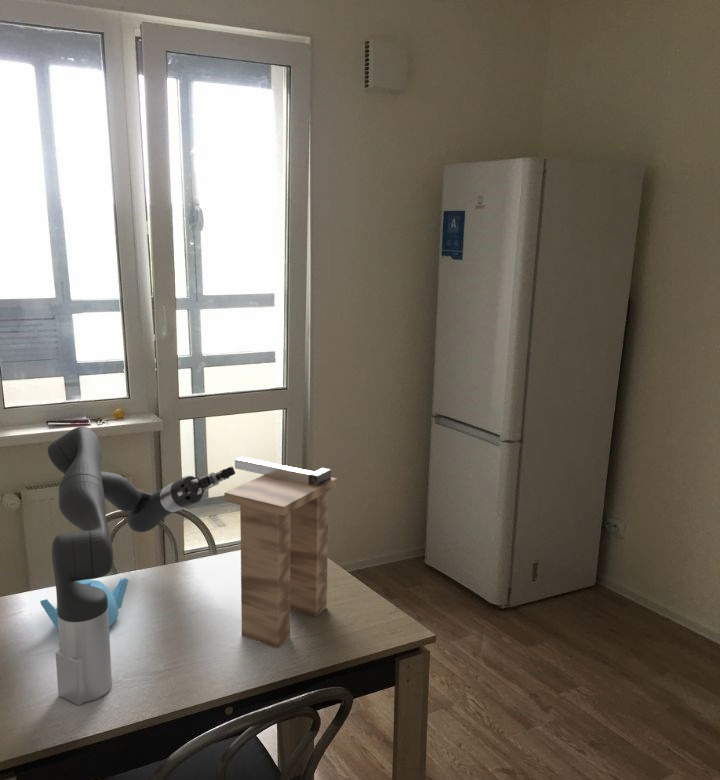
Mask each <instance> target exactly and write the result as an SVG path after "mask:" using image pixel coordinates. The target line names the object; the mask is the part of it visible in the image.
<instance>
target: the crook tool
mask: <svg viewBox="0 0 720 780" xmlns="http://www.w3.org/2000/svg"><path fill="white" fill-rule="evenodd" d="M234 470H241V471H245V472H250V473H255V474H259V475H262V476H263V475H268V476H272V477H277V478H282V479H286V480H291V481H295V482H300V483H305V484H309V485H314V486H319V485H321V484H322V483H324V482H326V481H328V480H330V479H331V477H332V469H330V468H325V467H320V468H319V469H317V470H315V471H313V470H309V469H303V468H299V467H293V466H288V465H284V464H283V465H282V464H278V463H273V462H269V461H264V460H261V459H260V460H259V459H254V458H250V457H244V456H239V457H237V458H235V459H234Z"/></svg>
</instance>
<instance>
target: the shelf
mask: <svg viewBox="0 0 720 780" xmlns="http://www.w3.org/2000/svg"><path fill="white" fill-rule="evenodd" d="M337 486H338V478H337V477H332V476H331V479H330V480H328V481H326V482H324V483H322V484H321V485H319V486H314V485H309V484H305V483H300V482H295V481H291V480H286V479H282V478H277V477H272V476H268V475H263V474H262V475H261V476H259V477H256V478H255V479H252V480H249V481H246V482H245V483H243V484H240V485H239V486H236V487H234V488H232V489H230V490H227V491H226V492H224V502H226V503H231V504H233V505H234V504H235V505H239V509H240V510H239V511H240V513H239V515H240V524H239V525H240V581H241V582H240V592H241V593H240V595H241V596H240V599H241V600H240V601H241V605H240V606H241V607H240V609H241V615H240V616H241V636H242V637H245V638H247V639H250V640H252V641H255V640H256V641H255V642H258V641H259V642H258V643H261V642H262V644H264V643H265V645H267V644H268V645H267V646H269V645H271V647H272V646H274V647H273V648H275V647H276V648H275V649H278V648H279V647H281V646H282V645H283V644H284V643H286V642H287V641H288V640H290V638H291V610H294V611H297V612H299V613H303V614H307V615H309V614H310V616H312V615H313V617H315V616H316V617H318V616H319V615H320V614H321V613H322V612H323V611H325V610H326V609H327V607H328V606H327V605H328V552H329V550H328V549H329V547H328V545H329V544H328V543H329V540H328V539H329V496H330V495H329V491H331V490H333V489H335V488H337ZM325 608H326V609H325ZM324 609H325V610H324ZM319 613H320V614H319ZM318 614H319V615H318ZM286 640H287V641H286ZM285 641H286V642H285ZM281 644H282V645H281ZM280 645H281V646H280Z"/></svg>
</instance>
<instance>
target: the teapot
mask: <svg viewBox="0 0 720 780" xmlns="http://www.w3.org/2000/svg"><path fill="white" fill-rule="evenodd" d="M76 582H78V583H81V584H84V585H88V586H94V587H97V588H100V589H102V590H103V591H104V592H105V593H106V595H107V600H108V618H109V626H110V627H111V625H113V623H114V622H115V621H116V619H117V618H118V616H119V612H120V611H119V609H121V608H122V606H123V605H122V604H123V601H124V598H125V594H126V590H127V587H128V583H129V579H128V578H127V577H123V578H120V580H119V582H118V583H117V585H116V586H115V589H114V590H113V592H112V591H111V590H110V589H109V587H108V586H106V584H104V583H103V582H101V581H100V580H95V579H86V580H79V581H76ZM39 603H40V605H41V607H42V608H43V609H44V612H45V613H46V614H47V616H48V617H49V619H50V621H51V622H52V623H53V625H54V627H57V628H58V629H59V627H58V614H57V608H55V607H54V605H53V604H52V603H51V602H49V600H48V598H45V599H42V600H40V601H39Z"/></svg>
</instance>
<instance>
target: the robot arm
mask: <svg viewBox="0 0 720 780" xmlns="http://www.w3.org/2000/svg"><path fill="white" fill-rule="evenodd" d="M47 455H48V458H49V460H50V461H51V464H53V466H54V467H55V468H56V469H57V470H58V471H59V472H61V473H62V474H64V475H63V477H62V479H61V481H60V483H59V487H58V508H59V510H60V513H61V514H62V515H63V518H65V519H66V520H67V521H69V523H71V524H72V525H74V526H75V527H77V528H79V529H80V530H81V531H74V532H73V531H72V532H66V533H60V534H57V535H55V537H54V538H53V541H52V544H51V558H52V560H51V561H52V568H53V575H54V583H55V593H56V609H57V614H58V627H59V628H58V627H57V628H58V640H59V650H57V651H56V652H55V662H56V663H55V664H56V678H57V694H58V696H59V697H60V698H63V699H65V700H67V701H69V702H71V703H73V704H76V705H78V706H81V705H82V704H84V703H87V702H91V701H92V702H93V701H95V700H97V699H99V698H101V697H103V696H105V695H106V694H107V693H108V692H109V691H110V690H111V689H112V686H113V684H112V683H113V679H112V678H113V677H112V664H111V663H112V660H111V644H110V643H111V640H110V627H109V618H108V600H107V595H106V593H105V592H104V591H103V590H102V589H100V588H97V587H94V586H88V585H84V584H81V583H78V582H76V581H79V580H86V579H90V580H93V579H97V578H101V577H105V576H107V575H108V574H110V573H111V571H112V570H113V569H112V568H113V565H114V547H113V543H112V538H111V534H110V528H109V526H108V522H107V514H106V513H107V512H106V500H107V501H108V502H109V503H111V504H112V505H113V506H114V507H115V508H117V509H118V510H119V511H121V512H129V514H128V518H127V524H128V527H129V529H131V530H132V531H134V532H136V533H137V532H138V533H146V532H148V531H151V530H153V529H155V527H156V526H158V525H159V524H160V523H161V522H162V521H163V520H164V519H165V518H166V517H167V516H169V515H171V514H173V513H175V512H179V511H183V510H184V509H186V508H188V507H190V506H193V505H196V504H198V503H200V502H201V501H202V499H203V496H204V493H205V492H207V491H210V489H212V488H213V487H215V486H218V485H220V483H221V482H223V481H225V480H227V479H229V478H230V477H232V476H234V475H236V471H235V467H233V466H229V467H227V468H224V469H220V471H218V472H210V473H208V474H206V475H202V476H199V477H195V476H193V475H185V476H183V477H181V478H180V479H176V481H173V482H172V483H169V484H167V486H165V487H163V488H161V489H159V490H157V491H155V492H153V494H152V493H149V492H146V491H144V490H142V489H139V488H136V487H135V485H134V484H133V483H131V482H130V481H129V480H128V479H126V478H125V477H124V476H122V475H120V474H118V473H114V472H109V471H103V470H102V459H103V450H102V444H101V442H100V439H99V437H98V436H97V434H96V433H95V432H94V431H93V430H92V428H89V427H87V426H84V425H83V426H78V427H76V428H73V429H71V430H69V431H68V432H67V433H65V434H64V435H61V436H60V437H59V438H57V439H56V440H54V441H52V443H50V444H49V445H48V447H47ZM105 499H106V500H105Z"/></svg>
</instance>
